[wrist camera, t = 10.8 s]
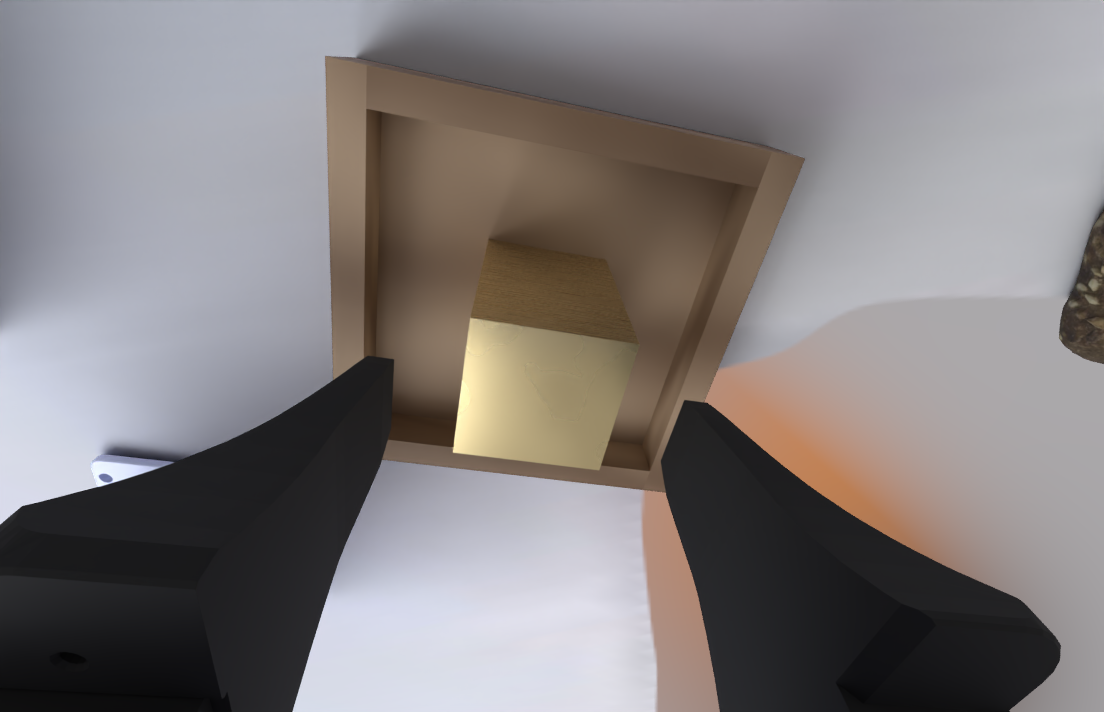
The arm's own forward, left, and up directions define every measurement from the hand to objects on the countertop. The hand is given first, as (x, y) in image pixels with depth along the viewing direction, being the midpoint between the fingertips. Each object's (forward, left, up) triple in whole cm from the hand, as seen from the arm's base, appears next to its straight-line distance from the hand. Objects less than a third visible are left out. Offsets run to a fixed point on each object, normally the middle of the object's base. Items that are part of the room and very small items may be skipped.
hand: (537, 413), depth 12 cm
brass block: (0, 0, -6) cm, 6 cm away
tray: (0, 0, -7) cm, 7 cm away
